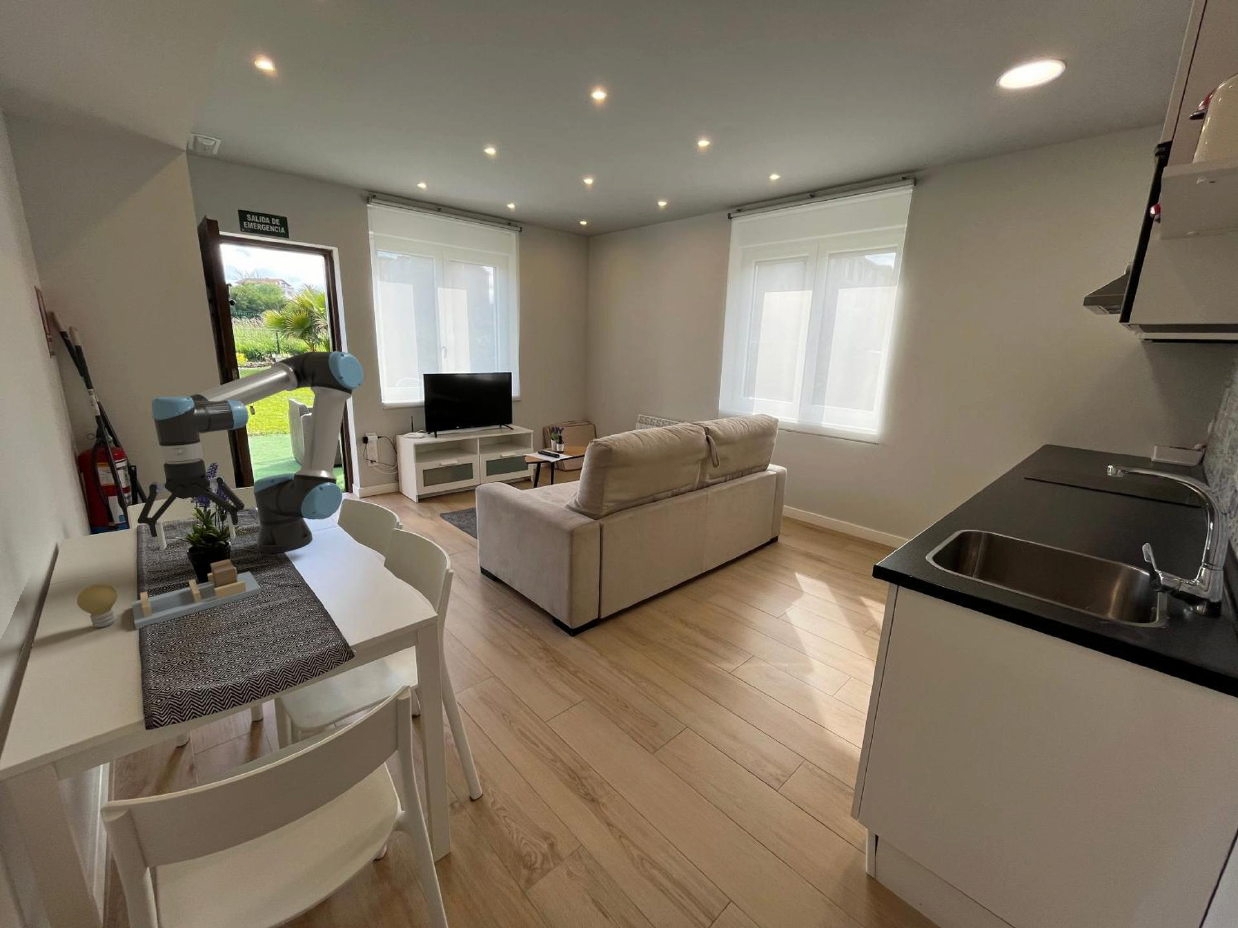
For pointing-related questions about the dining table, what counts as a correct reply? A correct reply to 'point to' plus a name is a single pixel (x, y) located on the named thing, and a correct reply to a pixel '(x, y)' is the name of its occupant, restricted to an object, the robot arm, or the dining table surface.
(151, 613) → the jig
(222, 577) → the tan wooden stepped block
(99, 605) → the light bulb
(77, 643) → the dining table surface
